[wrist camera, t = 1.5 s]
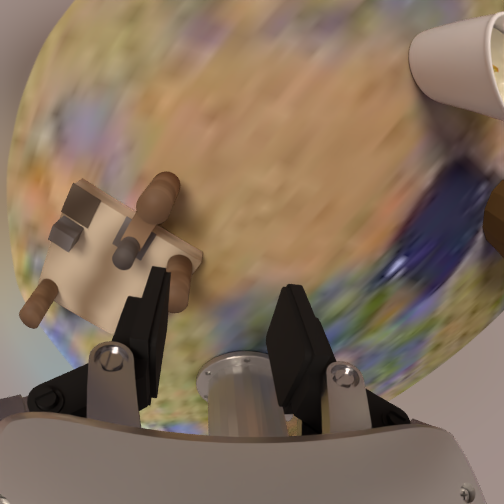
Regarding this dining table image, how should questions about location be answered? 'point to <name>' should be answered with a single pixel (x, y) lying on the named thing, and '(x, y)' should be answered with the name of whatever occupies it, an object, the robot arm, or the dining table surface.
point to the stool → (104, 262)
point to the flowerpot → (495, 219)
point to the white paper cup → (462, 64)
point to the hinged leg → (147, 217)
